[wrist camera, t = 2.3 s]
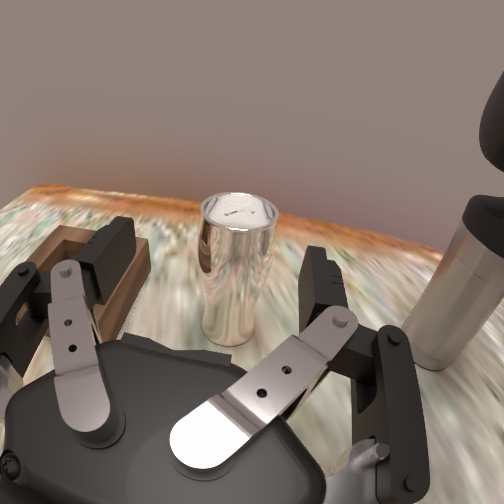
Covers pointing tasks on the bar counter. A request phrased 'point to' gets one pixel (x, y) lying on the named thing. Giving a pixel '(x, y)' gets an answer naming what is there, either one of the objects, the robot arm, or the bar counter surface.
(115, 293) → the walnut well block
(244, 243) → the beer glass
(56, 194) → the bar counter surface
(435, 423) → the bar counter surface
